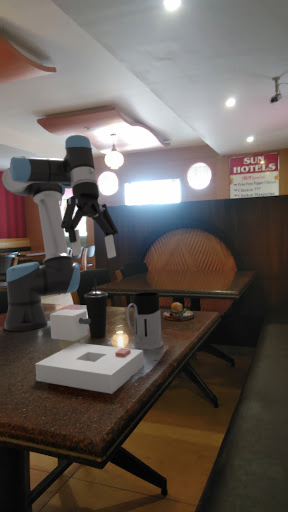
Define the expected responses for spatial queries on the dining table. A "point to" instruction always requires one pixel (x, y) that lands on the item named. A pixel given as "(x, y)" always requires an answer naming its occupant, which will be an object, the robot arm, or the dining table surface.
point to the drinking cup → (96, 311)
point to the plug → (68, 326)
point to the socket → (90, 367)
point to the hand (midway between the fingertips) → (95, 256)
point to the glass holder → (146, 320)
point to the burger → (178, 313)
